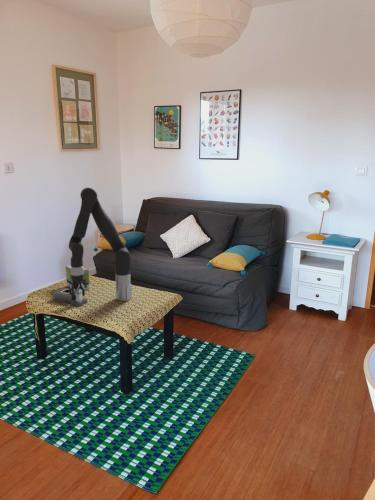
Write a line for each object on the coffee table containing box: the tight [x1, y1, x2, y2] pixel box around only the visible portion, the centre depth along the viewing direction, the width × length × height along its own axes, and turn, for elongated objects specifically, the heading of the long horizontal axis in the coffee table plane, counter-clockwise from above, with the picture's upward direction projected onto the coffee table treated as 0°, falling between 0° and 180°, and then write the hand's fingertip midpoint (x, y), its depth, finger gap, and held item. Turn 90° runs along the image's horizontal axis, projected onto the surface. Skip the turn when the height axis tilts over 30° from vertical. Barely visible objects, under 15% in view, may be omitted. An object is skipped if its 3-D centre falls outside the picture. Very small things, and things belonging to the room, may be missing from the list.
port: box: [52, 287, 75, 304], centre depth 246 cm, size 14×10×5 cm
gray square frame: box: [70, 298, 88, 307], centre depth 240 cm, size 7×7×2 cm
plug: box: [75, 289, 84, 302], centre depth 239 cm, size 3×3×9 cm
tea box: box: [65, 265, 90, 291], centre depth 264 cm, size 15×10×15 cm
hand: (78, 297), depth 239 cm, fingers open, 8 cm apart
